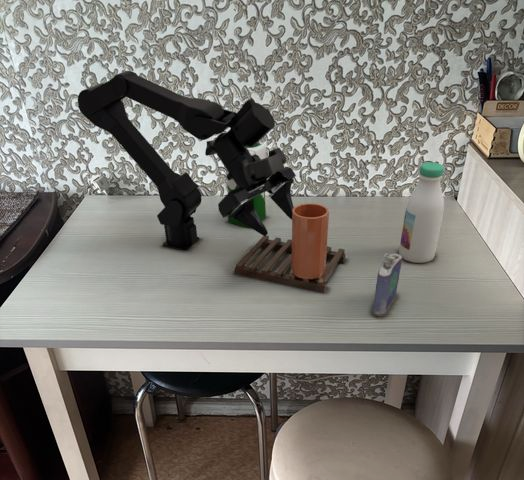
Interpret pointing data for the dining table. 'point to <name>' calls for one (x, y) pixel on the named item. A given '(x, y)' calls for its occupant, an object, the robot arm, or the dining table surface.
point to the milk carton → (260, 199)
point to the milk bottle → (423, 216)
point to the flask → (387, 283)
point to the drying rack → (284, 265)
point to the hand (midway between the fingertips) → (280, 226)
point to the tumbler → (309, 240)
